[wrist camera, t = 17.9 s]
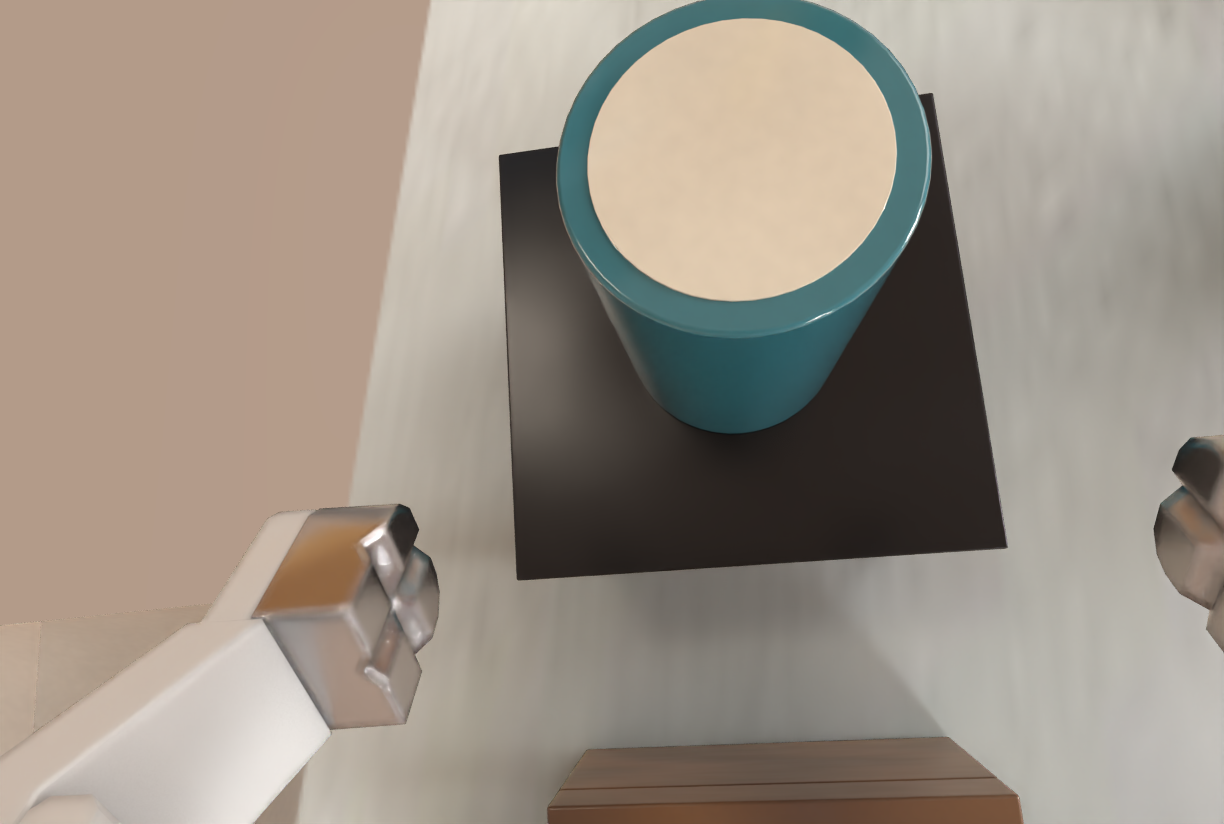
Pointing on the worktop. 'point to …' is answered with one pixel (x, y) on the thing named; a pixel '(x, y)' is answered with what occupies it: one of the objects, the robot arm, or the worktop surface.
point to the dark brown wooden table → (740, 462)
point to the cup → (742, 199)
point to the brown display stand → (786, 785)
